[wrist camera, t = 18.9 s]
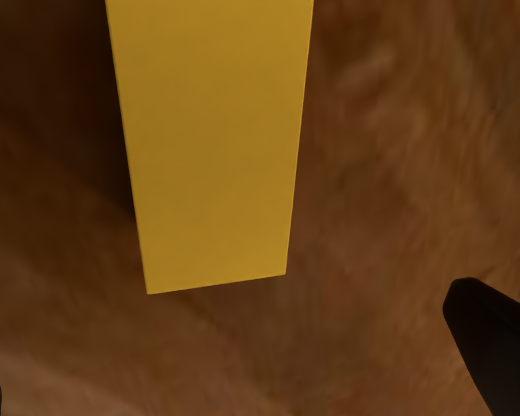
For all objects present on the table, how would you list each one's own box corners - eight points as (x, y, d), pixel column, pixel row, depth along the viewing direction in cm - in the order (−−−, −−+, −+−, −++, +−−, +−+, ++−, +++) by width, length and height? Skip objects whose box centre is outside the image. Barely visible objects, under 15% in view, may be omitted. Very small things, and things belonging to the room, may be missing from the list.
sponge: (141, 225, 19) (146, 295, 16) (98, -94, 13) (93, -81, 9) (259, 211, 20) (285, 275, 17) (275, -87, 14) (322, -74, 11)
